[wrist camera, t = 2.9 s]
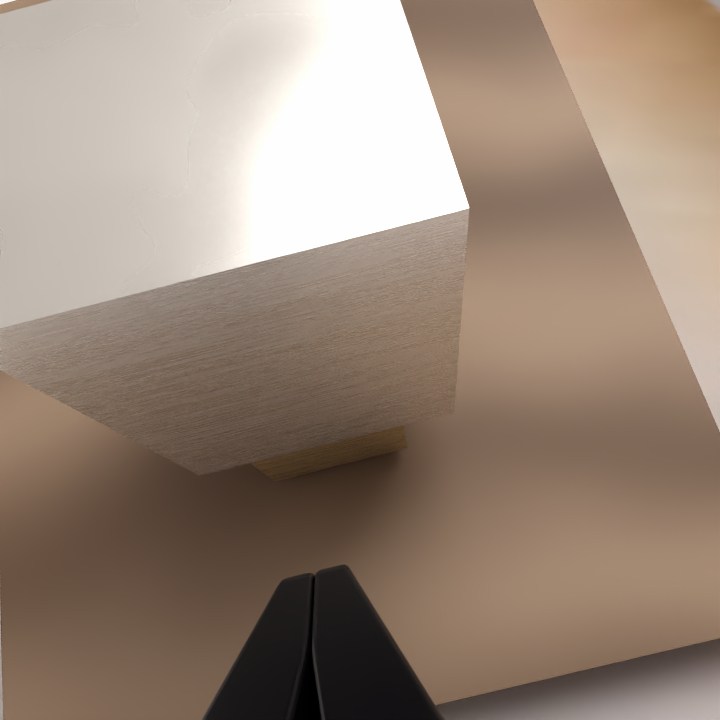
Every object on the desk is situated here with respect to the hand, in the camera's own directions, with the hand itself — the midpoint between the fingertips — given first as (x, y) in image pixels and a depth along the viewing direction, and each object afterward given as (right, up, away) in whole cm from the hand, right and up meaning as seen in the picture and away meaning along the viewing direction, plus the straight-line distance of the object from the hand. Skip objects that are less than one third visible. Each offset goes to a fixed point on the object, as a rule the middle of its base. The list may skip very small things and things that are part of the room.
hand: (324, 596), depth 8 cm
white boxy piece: (-1, +5, +8) cm, 9 cm away
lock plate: (-1, +5, +10) cm, 12 cm away
